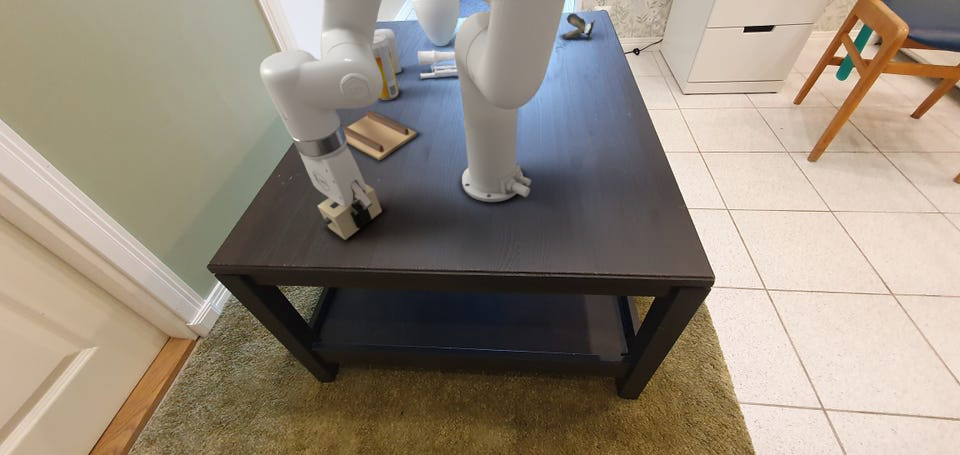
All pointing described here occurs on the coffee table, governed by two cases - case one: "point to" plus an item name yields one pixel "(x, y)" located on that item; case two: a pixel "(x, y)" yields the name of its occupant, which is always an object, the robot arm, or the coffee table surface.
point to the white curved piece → (391, 47)
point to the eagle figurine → (578, 26)
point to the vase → (438, 18)
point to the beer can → (385, 67)
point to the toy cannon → (437, 57)
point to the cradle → (377, 135)
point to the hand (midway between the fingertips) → (354, 216)
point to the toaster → (346, 214)
